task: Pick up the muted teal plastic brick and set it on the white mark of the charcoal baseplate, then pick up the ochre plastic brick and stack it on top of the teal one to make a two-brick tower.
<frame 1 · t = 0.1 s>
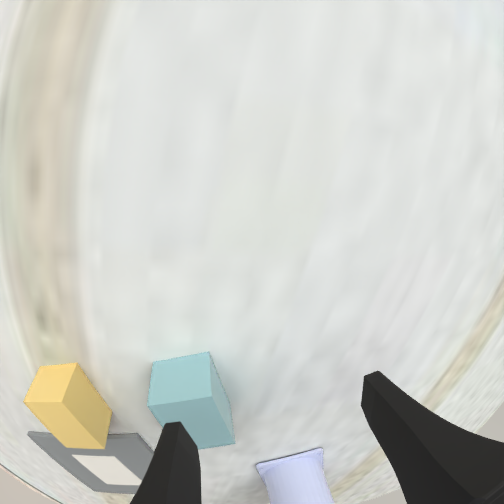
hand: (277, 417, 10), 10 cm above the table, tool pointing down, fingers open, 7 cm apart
teal brick: (193, 383, 22), on the table
ochre brick: (76, 389, 21), on the table
baseplate: (110, 467, 27), on the table
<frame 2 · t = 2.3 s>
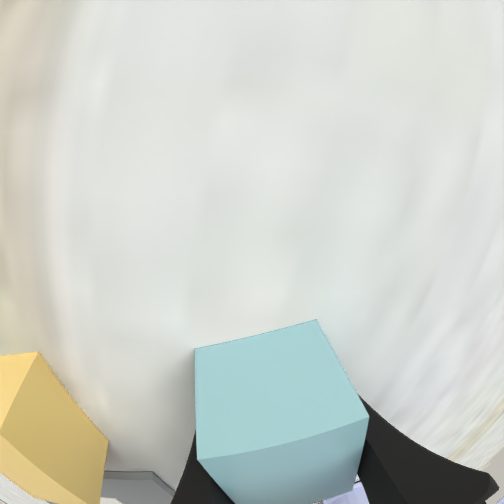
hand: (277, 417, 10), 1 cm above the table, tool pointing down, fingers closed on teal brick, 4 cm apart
teal brick: (269, 391, 12), on the table, touching gripper
ochre brick: (44, 402, 11), on the table
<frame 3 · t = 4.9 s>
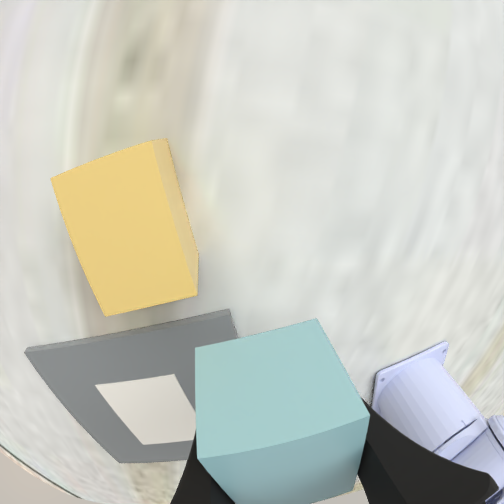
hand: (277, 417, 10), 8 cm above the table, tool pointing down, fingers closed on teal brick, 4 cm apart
teal brick: (270, 390, 12), point 7 cm above the table, touching gripper
ochre brick: (143, 209, 15), on the table
baseplate: (156, 409, 21), on the table
when the fingers open (3 cm above the table, at t = 7.4 s): teal brick drops 1 cm, resting on baseplate.
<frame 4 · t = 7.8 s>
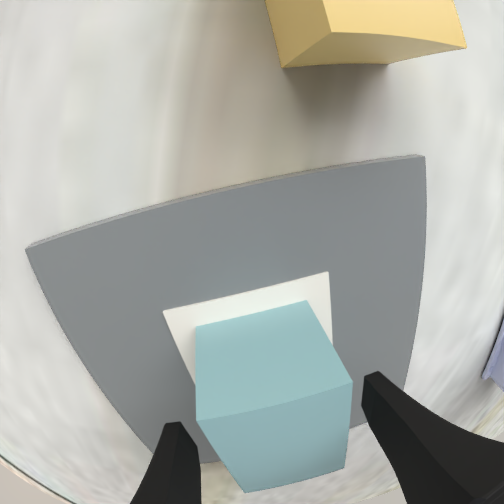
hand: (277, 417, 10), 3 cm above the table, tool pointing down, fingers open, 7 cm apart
teal brick: (265, 370, 13), point 1 cm above the table, touching baseplate
baseplate: (262, 360, 13), on the table
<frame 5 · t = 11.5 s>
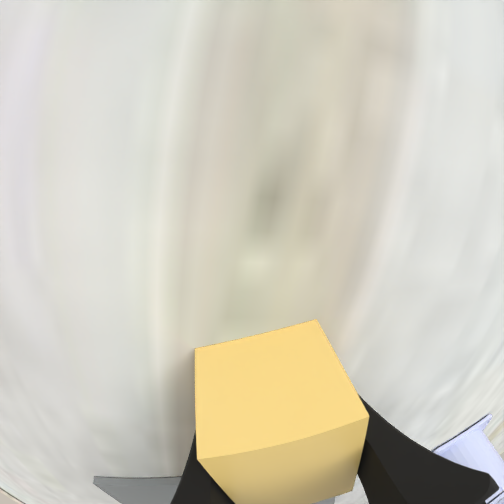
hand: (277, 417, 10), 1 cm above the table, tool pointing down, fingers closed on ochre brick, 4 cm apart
ochre brick: (269, 391, 12), on the table, touching gripper
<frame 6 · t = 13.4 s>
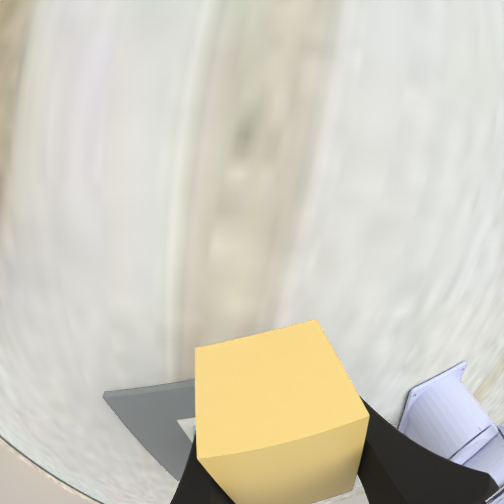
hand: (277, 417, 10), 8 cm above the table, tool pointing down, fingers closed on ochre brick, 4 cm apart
ochre brick: (269, 390, 12), point 7 cm above the table, touching gripper
baseplate: (228, 434, 23), on the table
when the fingers open (8 cm above the table, at t = 15.4 s): ochre brick drops 1 cm, resting on teal brick.
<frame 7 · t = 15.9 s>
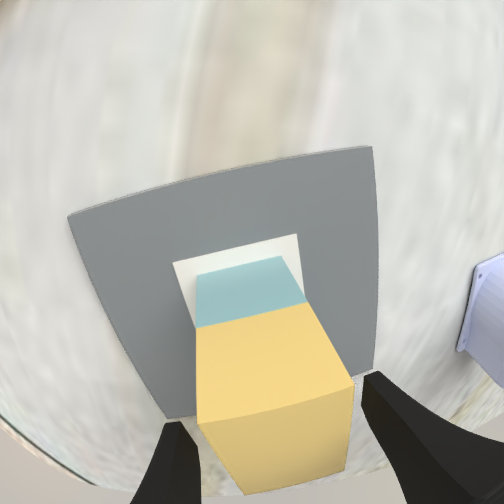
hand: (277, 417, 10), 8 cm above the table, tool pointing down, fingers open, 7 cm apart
teal brick: (250, 315, 17), point 1 cm above the table, touching baseplate, ochre brick
ochre brick: (265, 372, 13), point 5 cm above the table, touching teal brick
baseplate: (248, 309, 17), on the table
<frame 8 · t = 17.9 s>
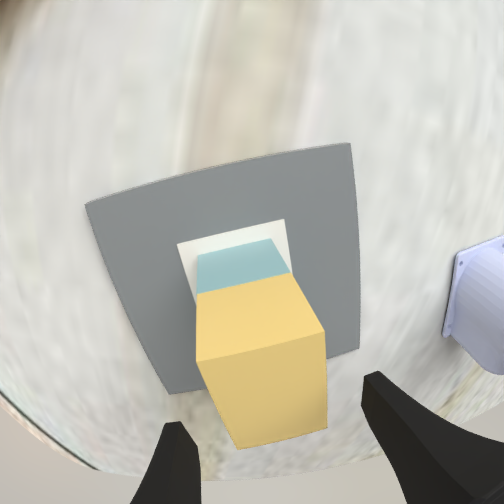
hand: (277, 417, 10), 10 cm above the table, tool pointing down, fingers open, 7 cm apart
teal brick: (245, 292, 19), point 1 cm above the table, touching baseplate, ochre brick
ochre brick: (256, 336, 15), point 5 cm above the table, touching teal brick
baseplate: (243, 287, 20), on the table
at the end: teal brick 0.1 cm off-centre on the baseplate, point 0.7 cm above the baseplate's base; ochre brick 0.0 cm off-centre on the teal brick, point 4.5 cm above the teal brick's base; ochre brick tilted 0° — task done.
